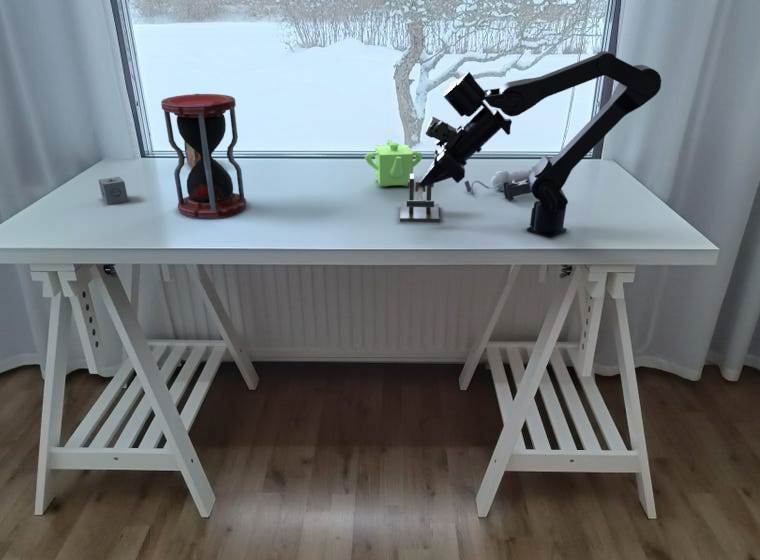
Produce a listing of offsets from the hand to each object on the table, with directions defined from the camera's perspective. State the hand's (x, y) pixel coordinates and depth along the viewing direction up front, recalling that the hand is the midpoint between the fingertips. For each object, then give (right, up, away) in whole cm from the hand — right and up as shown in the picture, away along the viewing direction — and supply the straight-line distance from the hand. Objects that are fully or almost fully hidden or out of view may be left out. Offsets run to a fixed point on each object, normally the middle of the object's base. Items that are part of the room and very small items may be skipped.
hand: (420, 185), depth 143 cm
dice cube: (-76, +2, +22) cm, 79 cm away
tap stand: (0, -4, +13) cm, 13 cm away
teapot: (-5, +10, +35) cm, 37 cm away
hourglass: (-50, -1, +17) cm, 53 cm away
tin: (-63, +19, +50) cm, 83 cm away
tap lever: (0, -1, +6) cm, 7 cm away
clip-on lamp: (+22, +5, +28) cm, 35 cm away
